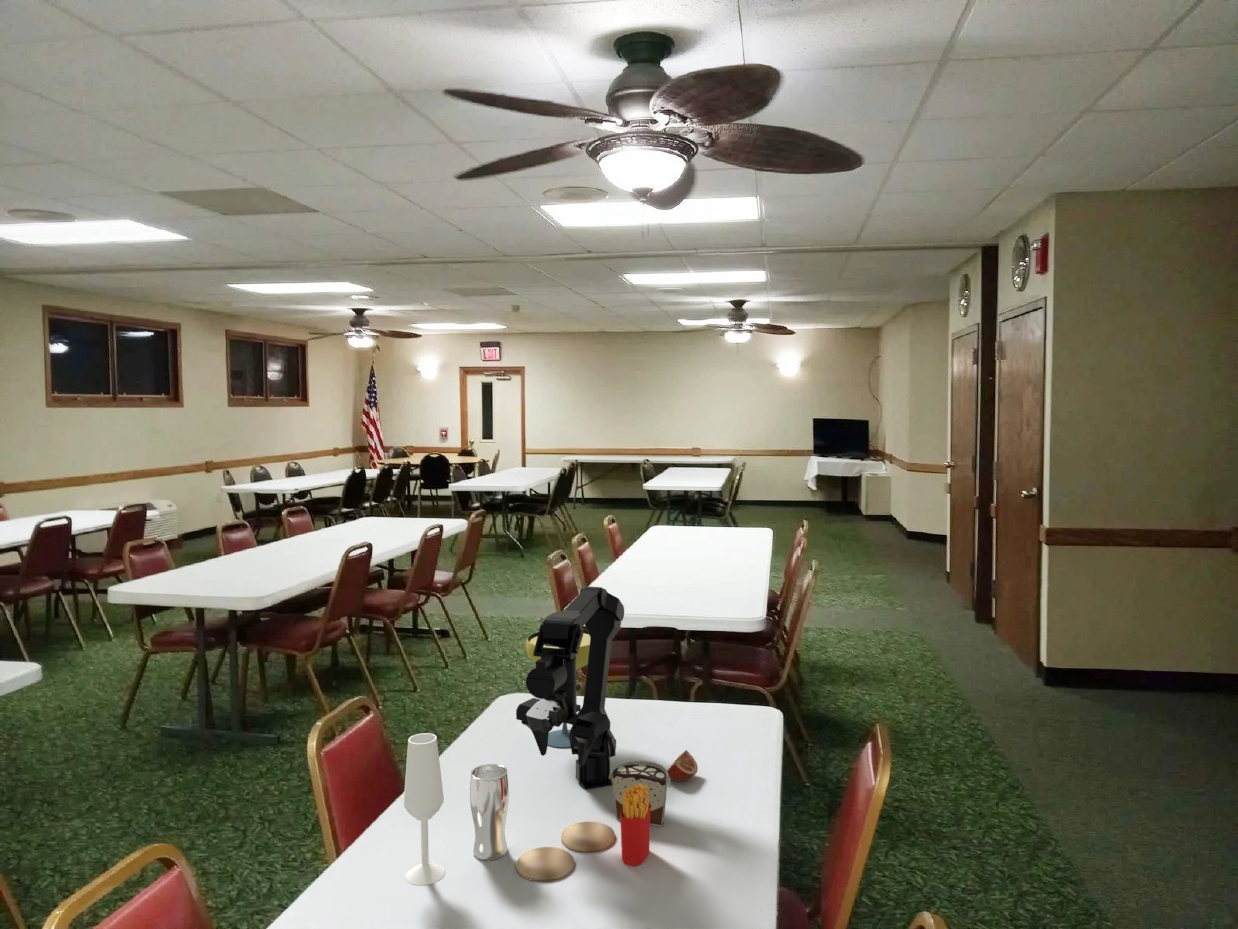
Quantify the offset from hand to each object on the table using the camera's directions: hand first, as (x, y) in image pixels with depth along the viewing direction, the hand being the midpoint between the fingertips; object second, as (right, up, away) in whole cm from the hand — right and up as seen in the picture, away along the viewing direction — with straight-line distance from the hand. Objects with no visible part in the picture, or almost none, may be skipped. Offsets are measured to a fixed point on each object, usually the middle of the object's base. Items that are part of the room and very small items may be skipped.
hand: (562, 760), depth 161 cm
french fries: (+14, -13, -12) cm, 23 cm away
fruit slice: (+25, -11, +19) cm, 33 cm away
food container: (+16, -12, +2) cm, 20 cm away
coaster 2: (+5, -12, -6) cm, 15 cm away
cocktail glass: (-2, -10, +40) cm, 42 cm away
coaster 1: (-2, -13, -15) cm, 20 cm away
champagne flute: (-22, -14, -18) cm, 32 cm away
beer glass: (-12, -13, -11) cm, 21 cm away
